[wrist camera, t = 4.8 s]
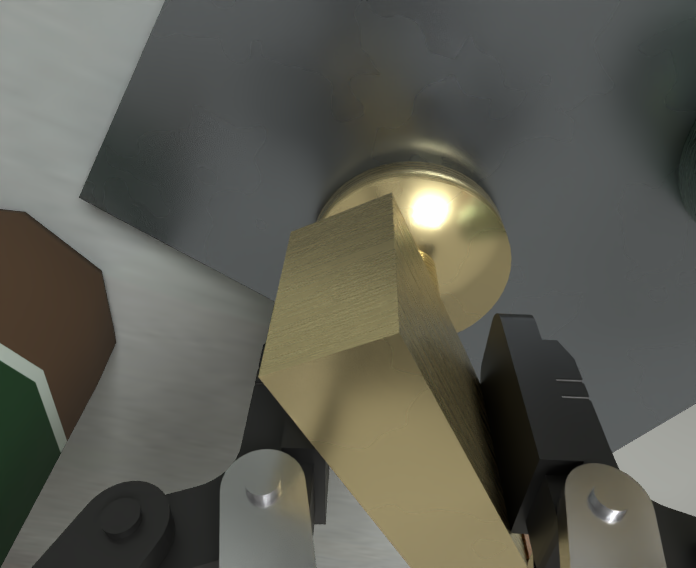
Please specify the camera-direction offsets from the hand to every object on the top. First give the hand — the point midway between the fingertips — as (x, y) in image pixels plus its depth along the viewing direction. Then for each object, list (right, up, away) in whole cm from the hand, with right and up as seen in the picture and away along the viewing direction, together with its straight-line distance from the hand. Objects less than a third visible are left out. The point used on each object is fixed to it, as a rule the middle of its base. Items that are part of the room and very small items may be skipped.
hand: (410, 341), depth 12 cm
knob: (0, +2, +3) cm, 4 cm away
